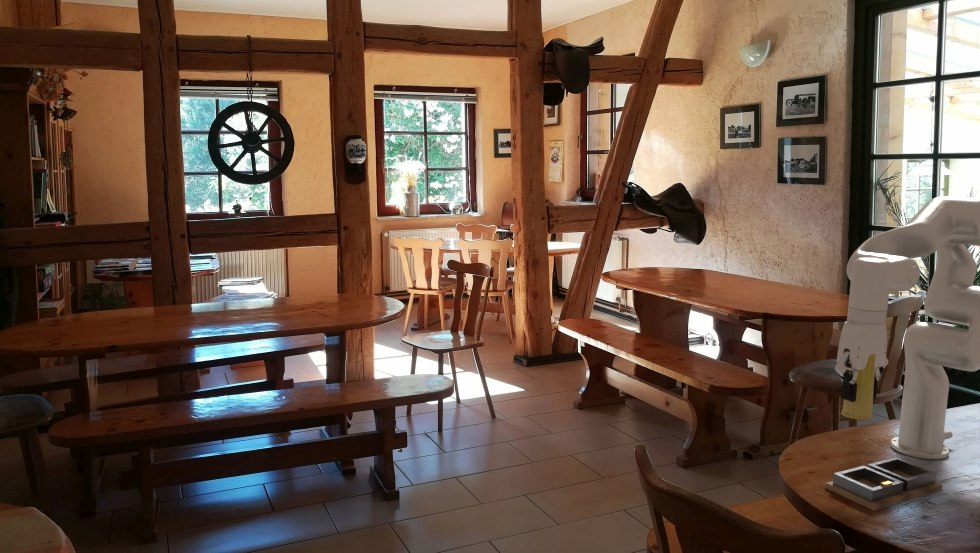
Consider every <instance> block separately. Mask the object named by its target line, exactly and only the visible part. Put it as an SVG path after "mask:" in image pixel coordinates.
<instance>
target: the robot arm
mask: <svg viewBox="0 0 980 553" xmlns="http://www.w3.org/2000/svg"><path fill="white" fill-rule="evenodd" d="M966 245H967V246H974V247H975V246H977V247H980V197H966V196H965V197H964V196H963V197H962V196H950V195H944V196H943V195H942V196H937V197H934V198H931V199H930V200H928V201H927V202H926V203H925V204H924V205H923V206H922V207H921V208H920V209H919V211H918V212H917V213H916V214H915V215H914V216H913V217H912V218H910V220H909V221H908V222H907V223H906V224H905V225H902V226H899V227H895V228H893V229H890V230H886V231H884V232H881V233H877V234H875V235H873V236H871V237H869V238H868V239H866V240H865V241H864V242H863V243H862V244H860V245H859V246H858V248H856V249H855V251H854V252H853V253H852V255H851V256H850V258H849V259H848V262H847V265H846V275H847V278H848V280H849V281H850V286H849V296H848V308H847V316H846V317H847V318H846V321H844V323H843V327H842V328H841V333H840V337H839V342H838V348H837V355H836V356H837V357H836V365H835V366H834V370H835V372H836V373H838V375H839V377H840V380H841V381H842V388H841V399H842V400H844V399H845V400H848V401H850V402H855V401H856V393H857V384H855V382H856V379H857V376H858V373H859V371H861V370H864V369H865V368H866V366H867V363H868V359H869V356H870V355H872V354H876V357H875V363H874V366H875V376H874V391H873V400H874V399H876V398H877V394H878V393H877V392H878V384H879V383H878V382H879V381H880V379H881V375H882V373H883V372H884V370H885V368H886V367H887V365H888V364H889V359H888V357H887V351H888V350H887V349H888V328H887V327H888V326H887V318H888V317H887V315H888V309H889V299H890V298H889V297H890V292H899V293H900V292H901V293H902V292H907V291H910V290H911V289H913V288H914V287H915V286H916V285H917V284H918V282H919V280H920V277H921V270H920V269H921V268H920V266H919V264H918V262H916V261H915V260H913V259H917V258H923V257H927V256H931V255H932V254H934V253H936V254H937V264H936V266H935V270H934V273H933V275H932V276H933V277H932V278H931V281H930V284H929V287H928V290H927V293H926V296H925V299H924V305H923V310H924V313H925V314H926V316H928V317H930V318H932V319H934V320H937V321H942V322H948V323H953V324H959V325H963V326H969V327H968V328H963V327H957V326H951V325H946V324H940V323H935V322H930V321H919V322H915V323H913V324H910V326H909V327H908V328H907V329H906V331H905V333H904V335H903V336H904V338H903V346H904V358H905V360H904V361H905V368H904V369H905V371H904V382H903V383H904V384H903V388H902V389H903V392H902V399H901V400H902V401H901V409H900V418H899V419H900V420H899V428H898V436H895V437H893V438H891V440H890V446H891V448H892V449H893V450H895V451H897V452H899V453H901V454H903V455H906V456H908V457H913V458H918V459H925V460H942V459H946V458H947V457H949V454H950V449H949V448H948V447H947V446H946V445H945V444H944V443H945V441H946V440H949V439H951V438H953V435H954V434H953V432H952V431H951V430H945V426H946V424H945V423H946V418H947V417H946V416H947V415H946V414H947V409H948V408H947V407H948V398H949V391H950V381H949V377H948V375H947V373H946V371H945V369H944V367H946V368H952V369H955V370H961V371H966V372H976V371H978V370H979V371H980V286H979V285H974V282H975V278H976V276H977V275H976V274H977V271H978V264H977V263H976V261H975V258H974V257H973V255H972V254H971V252H970V251H969V249H968V248H967V247H966ZM850 365H852V367H851V368H850ZM849 371H853V372H852V375H850V374H849Z"/></svg>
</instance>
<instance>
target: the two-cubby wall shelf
mask: <svg viewBox="0 0 980 553" xmlns="http://www.w3.org/2000/svg"><path fill="white" fill-rule="evenodd" d="M894 470H898V471H901V472H903V473H905V474H908V475H910V476H913V477H909V478H905V477H903V476H900V475H898V474H895V473H893V472H890V471H894ZM861 479H865V480H868V481H870V482H872V483H875V484H877V485H879V486H877V487H874V488H871V487H869V486H867V485H864V484H862V483H860V482H857V480H861ZM936 480H937V472H936V471H933V470H931V469H928V468H925V467H923V466H920V465H918V464H916V463H913V462H910V461H908V460H906V459H902V458H900V457H898V456H895V457H890V458H887V459H885V460H880V461H876V462H872V463H867V466H865V465H860V466H857V467H852V468H848V469H845V470H841V471H838V472H837V471H836V472H834V473H833V477H832V481H833V485H835V486H838V487H840V488H842V489H844V490H846V491H848V492H851V493H853V494H855V495H857V496H859V497H862V498H864V499H866V500H868V501H870V502H874V501H878V500H881V499H885V498H888V497H891V496H895V495H898V494H901V493H902V492H903V491H906V492H908V491H912V490H915V489H918V488H922V487H925V486H929V485H932V484H935V482H936V483H937V481H936Z"/></svg>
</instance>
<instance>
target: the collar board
mask: <svg viewBox="0 0 980 553" xmlns="http://www.w3.org/2000/svg"><path fill="white" fill-rule="evenodd" d="M890 472H893V473H895V474H898V475H900V476H903V477H905V478H909V477H913V476H910V475H908V474H905V473H903V472H901V471H898V470H894V471H890ZM857 482H860V483H862V484H864V485H867V486H869V487H871V488H874V487H877V486H879V485H877V484H875V483H872V482H870V481H868V480H865V479H861V480H857ZM825 489H827V490H829V491H831V492H833V493H835V494H838V495H839V496H842V497H844V498H846V499H848V500H850V501H852V502H854V503H856V504H859V505H861V506H863V507H865V508H868V509H870V510H871V511H875V512H876V511H878V510H883V509H885V508H888V507H891V506H890V505H892V506H894V505H893V504H895V505H897V504H896V503H898V504H900V503H899V502H902V503H904V502H903V501H905V502H907V501H906V500H908V501H911V500H910V499H912V500H915V499H918V498H920V497H925V496H928V495H931V494H934V493H937V492H940V491H943V484H941V483H938V482H937V481H936V482H935V484H932V485H929V486H925V487H922V488H918V489H915V490H912V491H908V492H906V491H903V492H902V493H901V494H898V495H895V496H891V497H888V498H885V499H881V500H878V501H874V502H870V501H868V500H866V499H864V498H862V497H859V496H857V495H855V494H853V493H851V492H848V491H846V490H844V489H842V488H840V487H838V486H835V485H833V480H831V481H827V482H825Z"/></svg>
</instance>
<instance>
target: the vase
mask: <svg viewBox="0 0 980 553" xmlns="http://www.w3.org/2000/svg"><path fill="white" fill-rule="evenodd" d="M875 357H876V354H872V355H870V356H869V359H868V363H867V366H866V368H865V369H864V370H861V371H859V373H858V376H857V379H856V382H855V384H857V393H856V401H855V402H850V401H848V400H845V399H843V401H842V402H843V403H842V410H841V415H842V416H844V417H846V418H848V419H852V420H856V421H857V420H858V421H868V420H871V419H872V418H873V406H874V404H873V403H874V399H873V391H874V376H875V366H874V363H875ZM851 367H852V365H850V368H851ZM852 372H853V371H849V374H850V375H852Z"/></svg>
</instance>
